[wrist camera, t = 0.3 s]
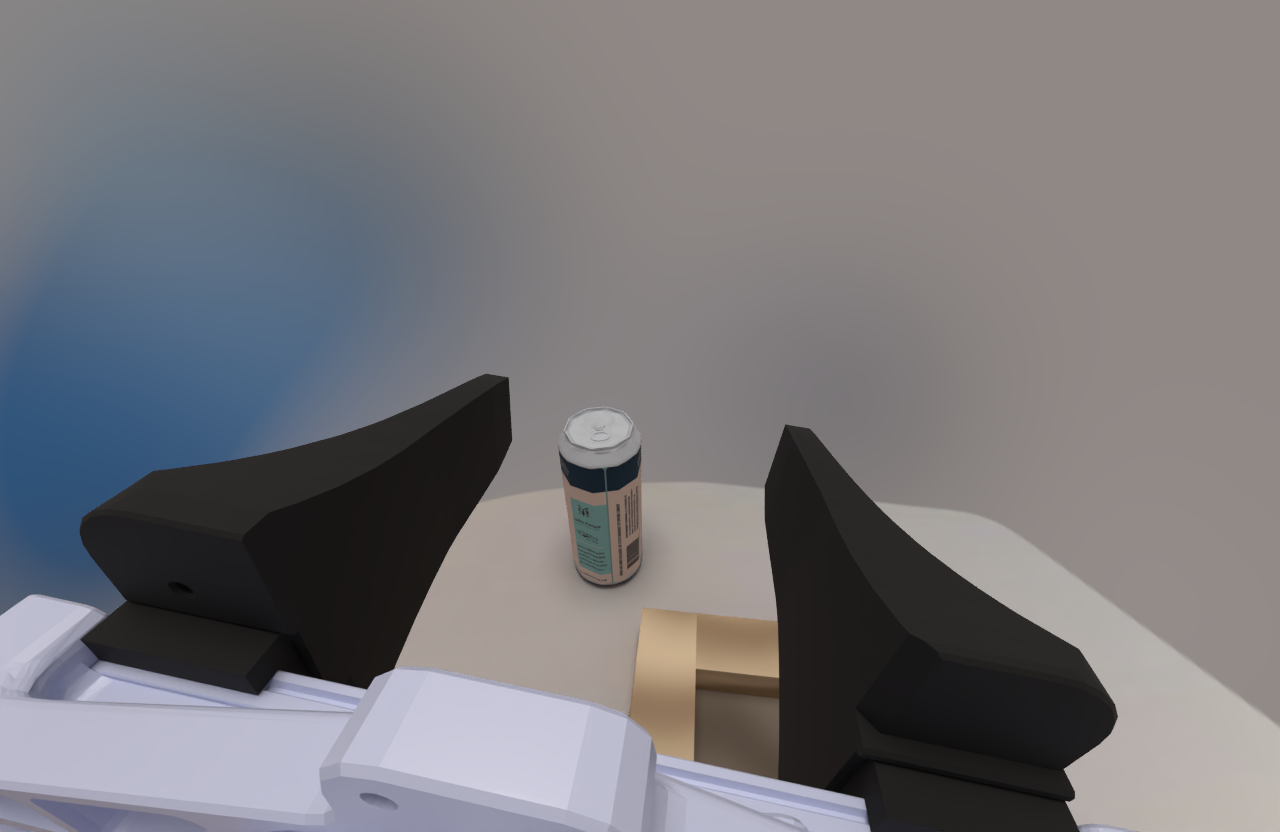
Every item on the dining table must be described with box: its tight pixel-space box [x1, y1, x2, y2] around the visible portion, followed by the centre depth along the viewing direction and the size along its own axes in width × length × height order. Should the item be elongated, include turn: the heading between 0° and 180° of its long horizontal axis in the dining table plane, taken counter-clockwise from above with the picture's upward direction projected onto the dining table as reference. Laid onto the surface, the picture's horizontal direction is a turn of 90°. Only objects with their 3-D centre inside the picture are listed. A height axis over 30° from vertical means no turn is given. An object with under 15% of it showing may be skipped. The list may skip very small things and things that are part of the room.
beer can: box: [558, 407, 642, 585], centre depth 31 cm, size 5×5×12 cm
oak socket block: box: [630, 608, 779, 780], centre depth 24 cm, size 12×12×2 cm
